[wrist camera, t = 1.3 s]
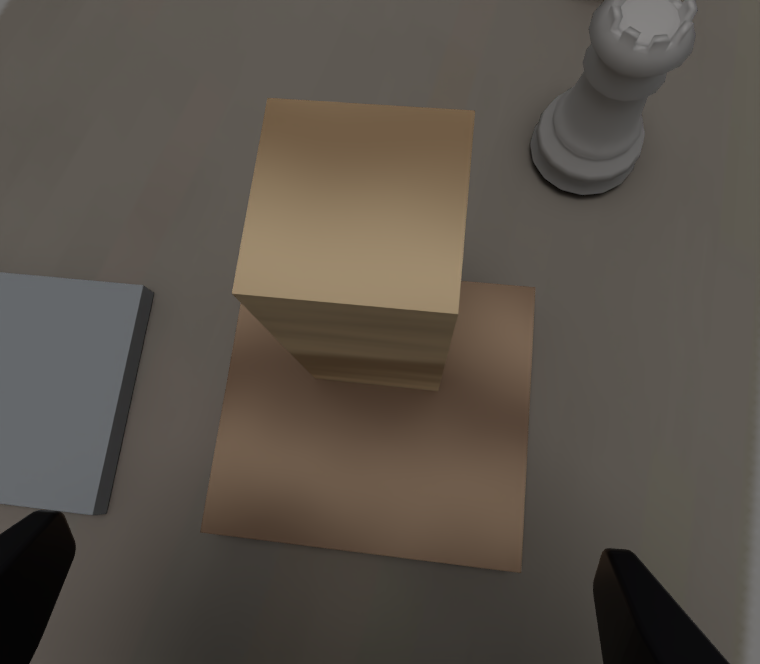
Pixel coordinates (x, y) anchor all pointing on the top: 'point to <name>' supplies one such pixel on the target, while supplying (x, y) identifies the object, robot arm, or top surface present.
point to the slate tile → (66, 387)
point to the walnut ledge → (383, 446)
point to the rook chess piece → (612, 94)
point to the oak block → (358, 237)
